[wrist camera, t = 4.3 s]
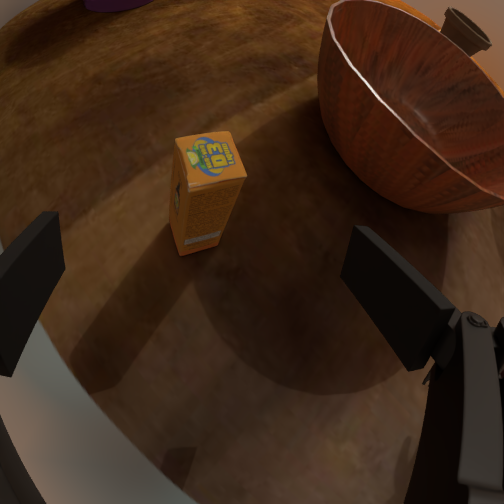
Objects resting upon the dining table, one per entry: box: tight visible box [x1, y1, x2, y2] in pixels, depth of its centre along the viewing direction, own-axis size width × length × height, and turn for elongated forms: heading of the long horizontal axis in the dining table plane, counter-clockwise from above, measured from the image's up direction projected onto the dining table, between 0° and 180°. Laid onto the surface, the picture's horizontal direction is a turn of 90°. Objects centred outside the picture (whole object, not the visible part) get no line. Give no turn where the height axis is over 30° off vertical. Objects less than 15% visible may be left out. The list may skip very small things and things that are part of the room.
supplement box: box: [169, 131, 247, 256], centre depth 20 cm, size 3×3×10 cm
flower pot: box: [440, 7, 492, 57], centre depth 44 cm, size 12×11×10 cm
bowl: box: [317, 0, 504, 214], centre depth 27 cm, size 25×25×11 cm
